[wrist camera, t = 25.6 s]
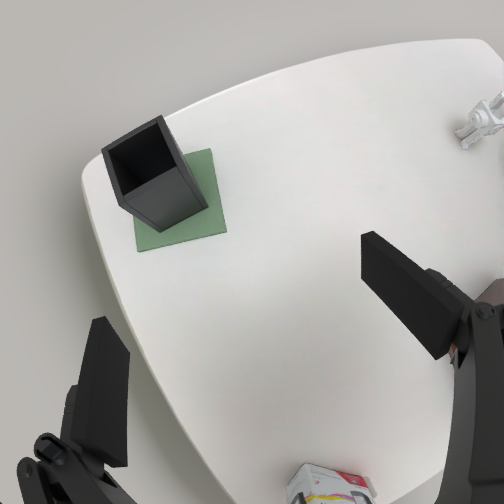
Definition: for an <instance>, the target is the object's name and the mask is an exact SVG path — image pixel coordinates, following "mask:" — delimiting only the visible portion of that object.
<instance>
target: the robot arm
mask: <svg viewBox="0 0 504 504" xmlns="http://www.w3.org/2000/svg"><path fill="white" fill-rule="evenodd" d="M361 279H362V280H363V281H364V282H365V283H366V284H367V285H368V286H369V287H370V288H371V289H372V290H373V291H374V292H375V293H376V295H377V296H378V297H379V298H380V299H381V300H382V301H383V302H384V303H385V304H386V305H387V306H388V307H389V308H390V309H391V311H392V312H393V313H394V314H395V315H396V316H397V317H398V318H399V319H400V320H401V321H402V323H403V324H404V325H405V326H406V327H407V328H408V329H409V330H410V331H411V333H412V334H413V335H414V336H415V337H416V338H417V339H418V340H419V342H420V343H421V344H422V345H423V346H424V347H425V348H426V350H427V351H428V352H429V353H430V354H431V355H432V357H433V358H434V359H435V360H438V359H439V358H441V357H442V356H444V355H445V354H447V353H448V352H449V350H450V347H451V344H453V345H454V346H455V347H456V349H455V352H454V354H453V356H452V359H451V362H450V364H452V363H453V361H454V359H455V378H454V399H453V412H452V423H451V431H450V439H449V446H448V452H447V458H446V464H445V469H444V474H443V479H442V483H441V488H440V492H439V495H438V498H437V500H436V502H435V503H434V504H504V303H503V304H500V305H496V306H492V305H491V304H489V303H487V302H476V303H475V302H474V301H473V300H472V299H471V298H469V297H468V296H467V295H466V294H465V293H464V292H462V291H461V290H460V289H459V288H458V287H456V286H455V285H453V283H452V282H450V281H449V280H447V278H446V277H444V276H443V275H442V274H441V273H439V272H437V271H435V270H432V269H430V268H429V269H427V270H423V269H422V268H421V267H419V266H418V265H417V264H416V263H415V262H413V261H412V260H411V259H409V258H408V257H407V256H406V255H404V254H403V253H402V252H401V251H399V250H398V249H397V248H395V247H394V246H393V245H391V244H390V243H389V242H388V241H386V240H385V239H384V238H382V237H381V236H380V235H378V234H377V233H375V232H374V231H371V232H368V233H365V234H362V235H361ZM129 362H130V352H129V351H128V350H127V348H126V347H125V345H124V344H123V342H122V341H121V339H120V338H119V336H118V335H117V333H116V332H115V330H114V329H113V327H112V326H111V324H110V323H109V321H108V319H107V318H106V317H105V316H103V317H100V318H97V319H93V320H92V324H91V328H90V331H89V335H88V339H87V344H86V348H85V352H84V357H83V361H82V366H81V371H80V376H79V381H78V385H72V387H71V388H70V390H69V392H68V394H67V397H66V402H65V406H66V407H65V408H64V415H63V420H62V427H61V435H60V439H59V438H57V437H56V436H55V435H53V434H51V433H44V434H42V435H40V436H39V437H38V439H37V440H36V442H35V445H34V454H35V456H36V457H37V458H38V459H40V460H41V461H38V462H36V461H35V460H33V459H32V458H29V457H25V458H23V459H21V460H20V462H19V463H18V466H17V477H18V481H19V486H20V490H21V493H22V497H23V501H24V504H137V503H136V502H135V501H134V500H133V499H132V498H131V497H130V496H129V495H128V494H127V493H126V492H125V491H124V490H123V489H122V488H121V486H120V485H119V484H118V483H117V482H116V481H115V480H114V479H113V478H112V476H111V475H110V474H109V473H108V472H107V471H106V470H104V463H105V464H108V465H109V466H110V467H113V468H116V467H127V466H128V463H127V399H128V377H129ZM0 504H2V503H1V502H0Z"/></svg>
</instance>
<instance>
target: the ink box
mask: <svg viewBox="0 0 504 504" xmlns="http://www.w3.org/2000/svg"><path fill="white" fill-rule="evenodd" d="M286 498H287V504H375V502H374V500H373V498H372V496H371V494H370V492H369V489H368V487H367V486H366V483H365V481H364V479H363V477H358V476H354V475H349V474H345V473H341V472H336V471H333V470H329V469H325V468H322V467H318V466H315V465H311V464H308V463H305V464H304V465H303V466H302V467H301V468H300V469H299V471H298V472H297V473H296V475H295V476H294V477H293V479H292V480H291V481H290V483H289V484H288V485H287V487H286Z"/></svg>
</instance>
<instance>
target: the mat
mask: <svg viewBox="0 0 504 504" xmlns="http://www.w3.org/2000/svg"><path fill="white" fill-rule="evenodd" d="M183 156H184V158H185V159H186V161H187V163H188V165H189V167H190V169H191V171H192V173H193V175H194V178H195V180H196V182H197V184H198V186H199V188H200V190H201V192H202V194H203V196H204V198H205V200H206V202H207V204H208V206H209V207H208V208H206V209H205V210H203V211H201V212H199V213H197V214H195V215H193V216H191V217H189V218H187V219H185V220H183V221H181V222H180V223H178V224H176V225H174V226H172V227H170V228H168V229H167V230H165V231H163V232H161V233H159V232H157V231H156V230H154V229H153V228H151V227H150V226H148V225H147V224H145V223H144V222H142V221H141V220H139V219H138V218H136V217H135V216H133V219H134V229H135V237H136V245H137V252H143V251H147V250H151V249H155V248H159V247H164V246H168V245H172V244H176V243H181V242H185V241H189V240H193V239H198V238H202V237H207V236H211V235H215V234H220V233H224V232H227V231H226V226H225V221H224V216H223V211H222V206H221V201H220V196H219V191H218V186H217V181H216V175H215V170H214V165H213V160H212V154H211V150H210V148H209V149H205V150H201V151H197V152H193V153H189V154H185V155H183Z"/></svg>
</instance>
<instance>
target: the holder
mask: <svg viewBox="0 0 504 504" xmlns="http://www.w3.org/2000/svg"><path fill="white" fill-rule="evenodd" d="M101 151H102V154H103V158H104V161H105V164H106V168H107V171H108V174H109V177H110V181H111V184H112V187H113V190H114V193H115V196H116V199H117V202H118V205H119V206H120V207H121V208H123V209H124V210H126V211H127V212H129V213H130V214H132V215H133V216H135V217H136V218H138V219H139V220H141V221H142V222H144V223H145V224H147V225H148V226H150V227H151V228H153V229H154V230H156V231H157V232H159V233H161V232H163V231H165V230H167V229H168V228H170V227H172V226H174V225H176V224H178V223H180V222H181V221H183V220H185V219H187V218H189V217H191V216H193V215H195V214H197V213H199V212H201V211H203V210H205V209H206V208H208V207H209V206H208V204H207V202H206V200H205V198H204V196H203V194H202V192H201V190H200V188H199V186H198V184H197V182H196V180H195V178H194V175H193V173H192V171H191V169H190V167H189V165H188V163H187V161H186V159H185V158H184V156H183V154H182V152H181V150H180V148H179V146H178V145H177V143H176V141H175V139H174V137H173V135H172V133H171V131H170V130H169V128H168V126H167V124H166V122H165V120H164V118H163V116H162V115H160V116H158V117H156V119H155V118H154V119H152V120H150V121H149V122H147V123H145V124H143V125H141V126H139V127H138V128H136V129H134V130H132V131H131V132H129V133H128V134H126V135H124V136H122V137H120V138H119V139H117V140H115V141H114V142H112V143H111V144H109V145H107V146H106V147H104V148H102V149H101Z"/></svg>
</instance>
